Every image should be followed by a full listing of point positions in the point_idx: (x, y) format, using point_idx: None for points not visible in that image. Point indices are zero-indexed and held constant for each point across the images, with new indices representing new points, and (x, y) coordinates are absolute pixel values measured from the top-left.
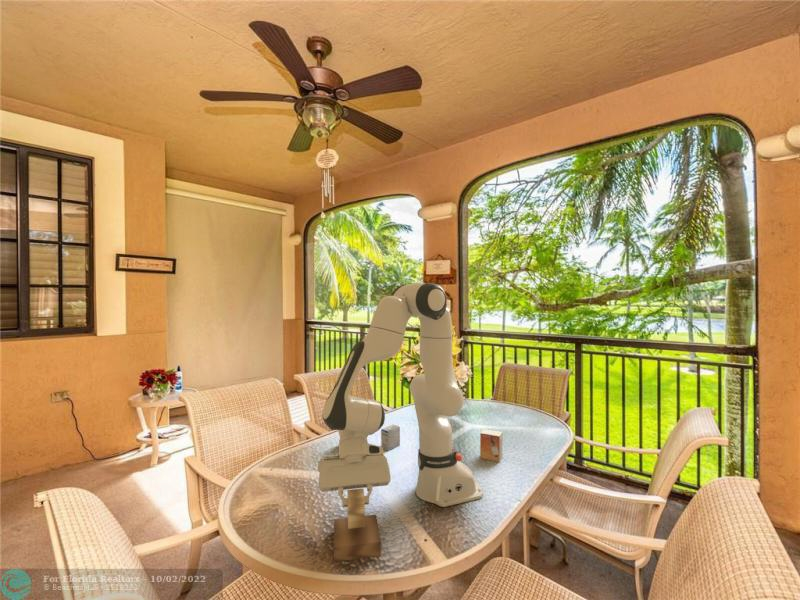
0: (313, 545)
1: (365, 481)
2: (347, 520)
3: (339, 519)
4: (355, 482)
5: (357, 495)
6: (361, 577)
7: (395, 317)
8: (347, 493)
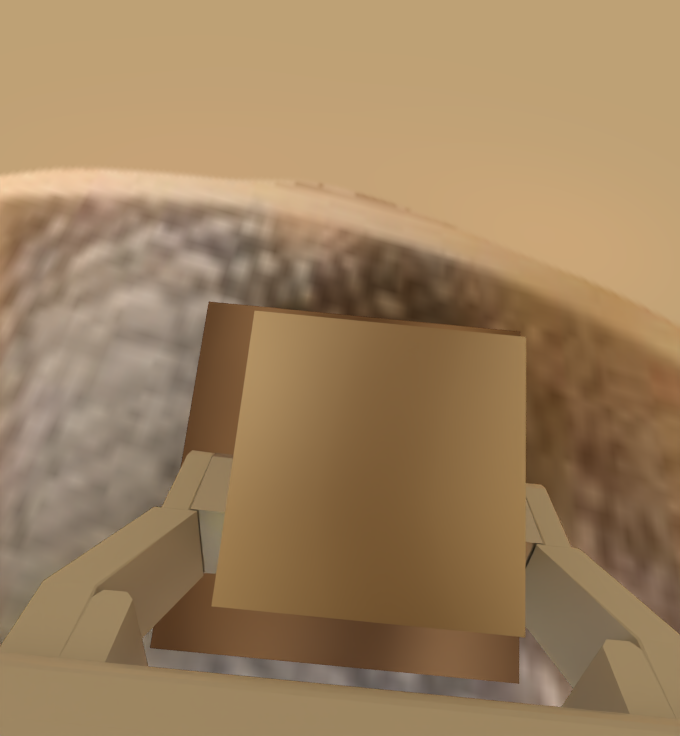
0: (616, 533)
1: (102, 703)
2: (406, 628)
3: (472, 665)
4: (366, 734)
5: (359, 386)
6: (359, 215)
7: None
8: (517, 539)
